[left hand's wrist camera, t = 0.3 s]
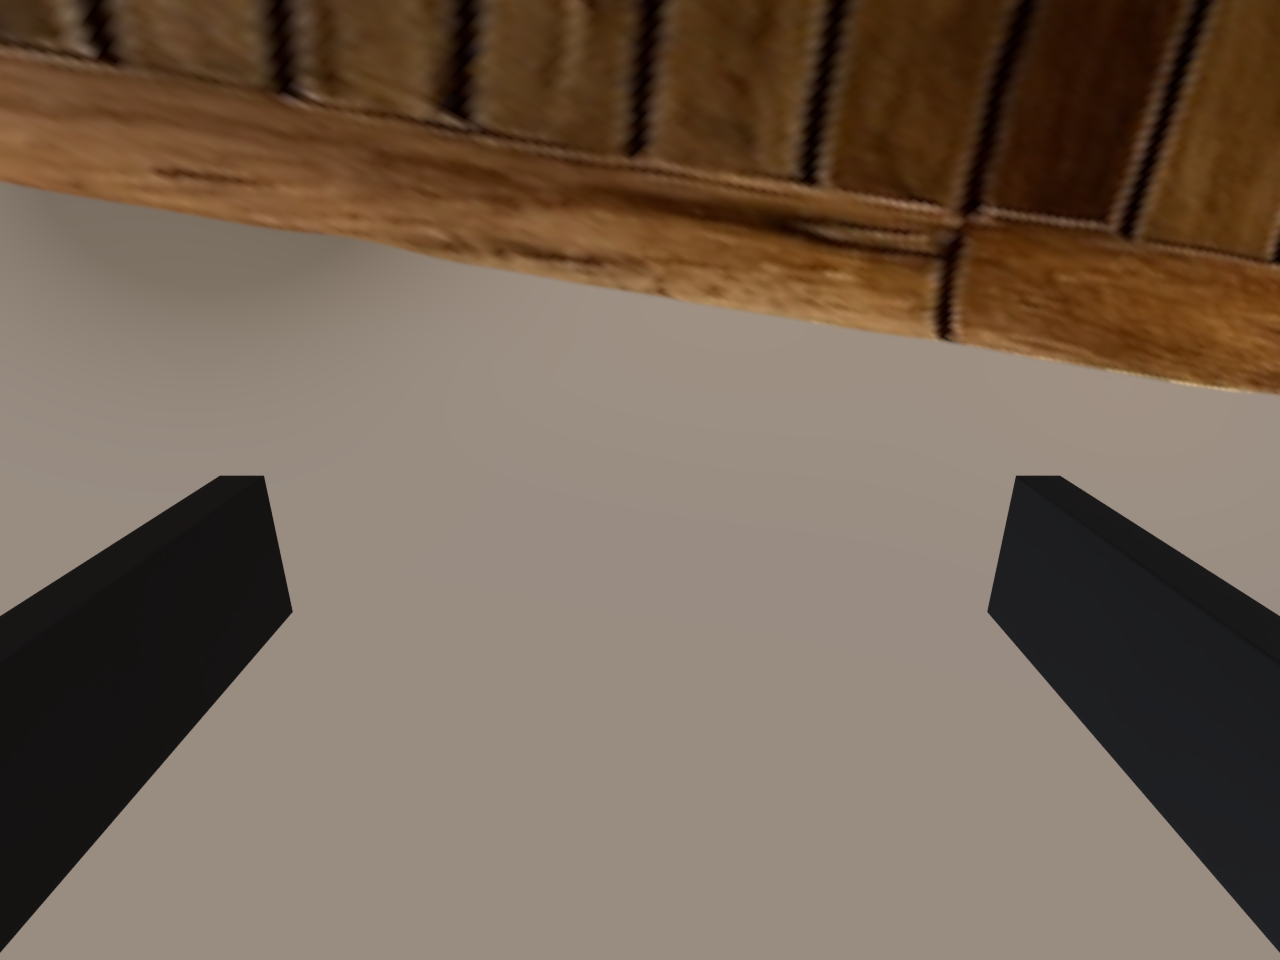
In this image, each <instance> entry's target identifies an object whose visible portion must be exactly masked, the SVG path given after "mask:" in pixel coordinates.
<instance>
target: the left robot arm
mask: <svg viewBox="0 0 1280 960" xmlns="http://www.w3.org/2000/svg"><path fill="white" fill-rule="evenodd" d="M292 612H293V611H292V606H291V602H290V597H289V592H288V587H287V583H286V578H285V573H284V569H283V564H282V559H281V554H280V549H279V545H278V540H277V536H276V531H275V526H274V521H273V517H272V512H271V507H270V502H269V497H268V493H267V488H266V483H265V479H264V476H219V477H217V478H216V479H214V480H213V481H211V482H209V483H208V484H206V485H205V486H203V487H202V488H200V489H198V490H197V491H195V492H194V493H192V494H191V495H189V496H187V497H186V498H184V499H183V500H181V501H180V502H178V503H177V504H175V505H173V506H172V507H170V508H169V509H167V510H166V511H164V512H162V513H161V514H159V515H158V516H156V517H155V518H153V519H152V520H150V521H148V522H147V523H145V524H144V525H142V526H141V527H139V528H137V529H136V530H134V531H133V532H131V533H130V534H128V535H127V536H125V537H123V538H122V539H120V540H119V541H117V542H116V543H114V544H112V545H111V546H109V547H108V548H106V549H105V550H103V551H101V552H100V553H98V554H97V555H95V556H94V557H92V558H90V559H89V560H87V561H86V562H84V563H83V564H81V565H80V566H78V567H76V568H75V569H73V570H72V571H70V572H69V573H67V574H65V575H64V576H62V577H61V578H59V579H58V580H56V581H55V582H53V583H51V584H50V585H48V586H47V587H45V588H44V589H42V590H40V591H39V592H37V593H36V594H34V595H33V596H31V597H29V598H28V599H26V600H25V601H23V602H22V603H20V604H19V605H17V606H15V607H14V608H12V609H11V610H9V611H8V612H6V613H4V614H3V615H1V616H0V952H1V951H2V950H3V949H4V948H5V946H6V945H7V944H8V943H9V942H10V941H11V939H12V938H13V937H14V936H15V935H16V934H17V932H18V931H19V930H20V929H21V928H22V927H23V925H24V924H25V923H26V922H27V921H28V920H29V918H30V917H31V916H32V915H33V914H34V913H35V911H36V910H37V909H38V908H39V907H40V906H41V904H42V903H43V902H44V901H45V900H46V899H47V897H48V896H49V895H50V894H51V893H52V892H53V891H54V889H55V888H56V887H57V886H58V885H59V884H60V882H61V881H62V880H63V879H64V878H65V876H66V875H67V874H68V873H69V872H70V871H71V870H72V868H73V867H74V866H75V865H76V864H77V862H78V861H79V860H80V859H81V858H82V857H83V856H84V854H85V853H86V852H87V851H88V850H89V849H90V847H91V846H92V845H93V844H94V843H95V842H96V840H97V839H98V838H99V837H100V836H101V835H102V833H103V832H104V831H105V830H106V829H107V828H108V826H109V825H110V824H111V823H112V822H113V821H114V819H115V818H116V817H117V816H118V815H119V814H120V812H121V811H122V810H123V809H124V808H125V807H126V805H127V804H128V803H129V802H130V801H131V800H132V798H133V797H134V796H135V795H136V794H137V793H138V791H139V790H140V789H141V788H142V787H143V786H144V785H145V783H146V782H147V781H148V780H149V779H150V777H151V776H152V775H153V774H154V773H155V772H156V770H157V769H158V768H159V767H160V766H161V765H162V764H163V762H164V761H165V760H166V759H167V758H168V756H169V755H170V754H171V753H172V752H173V751H174V750H175V748H176V747H177V746H178V745H179V744H180V743H181V741H182V740H183V739H184V738H185V737H186V736H187V734H188V733H189V732H190V731H191V730H192V729H193V727H194V726H195V725H196V724H197V723H198V722H199V720H200V719H201V718H202V717H203V716H204V715H205V713H206V712H207V711H208V710H209V709H210V708H211V706H212V705H213V704H214V703H215V702H216V701H217V699H218V698H219V697H220V696H221V695H222V694H223V692H224V691H225V690H226V689H227V688H228V687H229V685H230V684H231V683H232V682H233V681H234V680H235V679H236V677H237V676H238V675H239V674H240V673H241V671H242V670H243V669H244V668H245V667H246V666H247V664H248V663H249V662H250V661H251V660H252V659H253V658H254V656H255V655H256V654H257V653H258V652H259V651H260V649H261V648H262V647H263V646H264V645H265V644H266V642H267V641H268V640H269V639H270V638H271V637H272V635H273V634H274V633H275V632H276V631H277V630H278V628H279V627H280V626H281V625H282V624H283V623H284V621H285V620H286V619H287V618H288V617H289V616H290V614H291V613H292ZM987 612H988V613H989V614H990V616H991V617H992V618H993V619H994V620H995V621H996V623H997V624H998V625H999V626H1000V627H1001V628H1002V630H1003V631H1004V632H1005V633H1006V634H1007V635H1008V637H1009V638H1010V639H1011V640H1012V641H1013V642H1014V644H1015V645H1016V646H1017V647H1018V648H1019V649H1020V651H1021V652H1022V653H1023V654H1024V655H1025V656H1026V658H1027V659H1028V660H1029V661H1030V662H1031V663H1032V664H1033V666H1034V667H1035V668H1036V669H1037V670H1038V671H1039V673H1040V674H1041V675H1042V676H1043V677H1044V678H1045V680H1046V681H1047V682H1048V683H1049V684H1050V685H1051V687H1052V688H1053V689H1054V690H1055V691H1056V692H1057V694H1058V695H1059V696H1060V697H1061V698H1062V699H1063V701H1064V702H1065V703H1066V704H1067V705H1068V706H1069V708H1070V709H1071V710H1072V711H1073V712H1074V713H1075V715H1076V716H1077V717H1078V718H1079V719H1080V720H1081V722H1082V723H1083V724H1084V725H1085V726H1086V727H1087V729H1088V730H1089V731H1090V732H1091V733H1092V734H1093V736H1094V737H1095V738H1096V739H1097V740H1098V741H1099V743H1100V744H1101V745H1102V746H1103V747H1104V748H1105V750H1106V751H1107V752H1108V753H1109V754H1110V755H1111V757H1112V758H1113V759H1114V760H1115V761H1116V762H1117V764H1118V765H1119V766H1120V767H1121V768H1122V769H1123V771H1124V772H1125V773H1126V774H1127V775H1128V776H1129V778H1130V779H1131V780H1132V781H1133V782H1134V783H1135V784H1136V786H1137V787H1138V788H1139V789H1140V790H1141V791H1142V793H1143V794H1144V795H1145V796H1146V797H1147V798H1148V800H1149V801H1150V802H1151V803H1152V804H1153V805H1154V807H1155V808H1156V809H1157V810H1158V811H1159V812H1160V814H1161V815H1162V816H1163V817H1164V818H1165V819H1166V821H1167V822H1168V823H1169V824H1170V825H1171V826H1172V828H1173V829H1174V830H1175V831H1176V832H1177V833H1178V835H1179V836H1180V837H1181V838H1182V839H1183V840H1184V842H1185V843H1186V844H1187V845H1188V846H1189V847H1190V849H1191V850H1192V851H1193V852H1194V853H1195V854H1196V856H1197V857H1198V858H1199V859H1200V860H1201V861H1202V863H1203V864H1204V865H1205V866H1206V867H1207V868H1208V870H1209V871H1210V872H1211V873H1212V874H1213V875H1214V877H1215V878H1216V879H1217V880H1218V881H1219V882H1220V883H1221V885H1222V886H1223V887H1224V888H1225V889H1226V890H1227V892H1228V893H1229V894H1230V895H1231V896H1232V897H1233V899H1234V900H1235V901H1236V902H1237V903H1238V904H1239V906H1240V907H1241V908H1242V909H1243V910H1244V911H1245V913H1246V914H1247V915H1248V916H1249V917H1250V918H1251V920H1252V921H1253V922H1254V923H1255V924H1256V925H1257V927H1258V928H1259V929H1260V930H1261V931H1262V932H1263V934H1264V935H1265V936H1266V937H1267V938H1268V939H1269V941H1270V942H1271V943H1272V944H1273V945H1274V946H1275V948H1276V949H1277V950H1278V951H1279V952H1280V616H1279V615H1277V614H1276V613H1274V612H1272V611H1271V610H1269V609H1268V608H1266V607H1265V606H1263V605H1262V604H1260V603H1258V602H1257V601H1255V600H1254V599H1252V598H1251V597H1249V596H1247V595H1246V594H1244V593H1243V592H1241V591H1240V590H1238V589H1236V588H1235V587H1233V586H1232V585H1230V584H1229V583H1227V582H1226V581H1224V580H1222V579H1221V578H1219V577H1218V576H1216V575H1215V574H1213V573H1211V572H1210V571H1208V570H1207V569H1205V568H1204V567H1202V566H1200V565H1199V564H1197V563H1196V562H1194V561H1193V560H1191V559H1189V558H1188V557H1186V556H1185V555H1183V554H1182V553H1180V552H1179V551H1177V550H1175V549H1174V548H1172V547H1171V546H1169V545H1168V544H1166V543H1164V542H1163V541H1161V540H1160V539H1158V538H1157V537H1155V536H1154V535H1152V534H1150V533H1149V532H1147V531H1146V530H1144V529H1143V528H1141V527H1139V526H1138V525H1136V524H1135V523H1133V522H1132V521H1130V520H1129V519H1127V518H1125V517H1124V516H1122V515H1121V514H1119V513H1118V512H1116V511H1114V510H1113V509H1111V508H1110V507H1108V506H1107V505H1105V504H1103V503H1102V502H1100V501H1099V500H1097V499H1096V498H1094V497H1093V496H1091V495H1089V494H1088V493H1086V492H1085V491H1083V490H1082V489H1080V488H1078V487H1077V486H1075V485H1074V484H1072V483H1071V482H1069V481H1067V480H1066V479H1064V478H1063V477H1061V476H1016V479H1015V483H1014V488H1013V493H1012V498H1011V502H1010V507H1009V512H1008V516H1007V521H1006V526H1005V531H1004V535H1003V540H1002V545H1001V549H1000V554H999V559H998V564H997V568H996V573H995V578H994V583H993V587H992V592H991V597H990V602H989V606H988V611H987Z"/></svg>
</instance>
